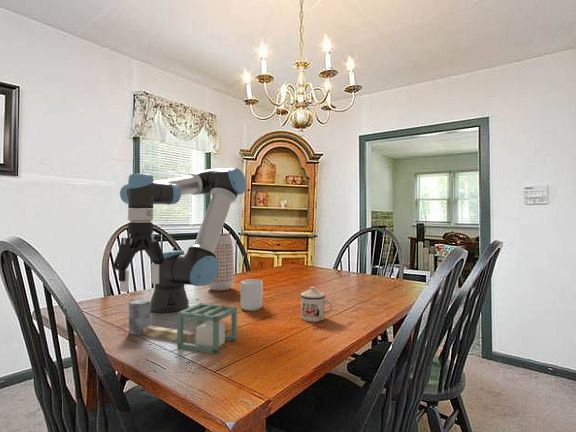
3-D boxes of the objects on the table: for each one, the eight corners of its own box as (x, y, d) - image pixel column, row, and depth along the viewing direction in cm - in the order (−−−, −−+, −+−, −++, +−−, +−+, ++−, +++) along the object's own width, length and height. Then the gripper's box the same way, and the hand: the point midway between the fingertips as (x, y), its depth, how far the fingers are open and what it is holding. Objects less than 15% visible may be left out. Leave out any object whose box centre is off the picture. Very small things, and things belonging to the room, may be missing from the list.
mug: (255, 312, 140) (255, 284, 140) (236, 309, 143) (236, 282, 143) (269, 305, 151) (269, 278, 151) (251, 302, 154) (251, 277, 154)
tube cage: (177, 347, 104) (177, 312, 103) (200, 334, 114) (200, 303, 114) (216, 354, 99) (216, 317, 99) (236, 340, 109) (236, 307, 109)
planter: (231, 292, 173) (231, 234, 173) (204, 292, 174) (204, 234, 173) (235, 286, 187) (235, 233, 186) (210, 286, 187) (210, 232, 187)
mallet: (128, 333, 115) (128, 302, 115) (138, 330, 118) (138, 300, 118) (188, 343, 107) (188, 310, 106) (196, 339, 110) (196, 307, 110)
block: (196, 346, 104) (196, 326, 104) (207, 339, 110) (207, 320, 110) (213, 349, 102) (213, 328, 102) (224, 342, 108) (224, 322, 108)
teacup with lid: (297, 320, 130) (297, 288, 129) (304, 313, 138) (304, 283, 138) (329, 324, 125) (329, 291, 125) (335, 317, 134) (335, 286, 134)
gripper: (119, 222, 102) (119, 296, 103) (175, 221, 126) (174, 281, 126) (99, 222, 105) (99, 294, 105) (157, 220, 128) (157, 279, 129)
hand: (140, 287), depth 116 cm, fingers open, 13 cm apart
